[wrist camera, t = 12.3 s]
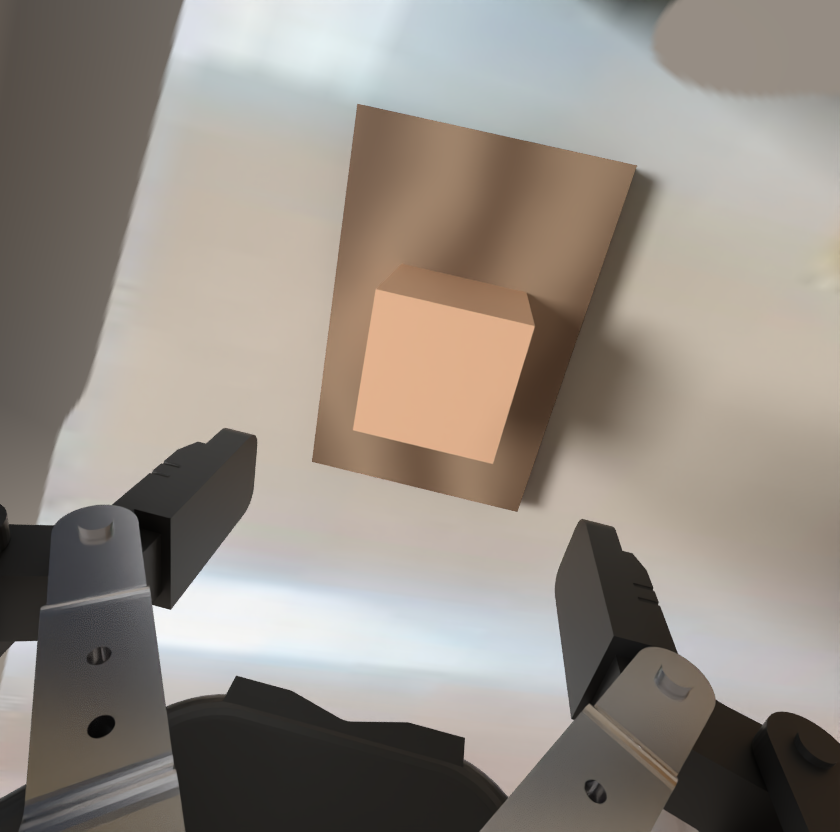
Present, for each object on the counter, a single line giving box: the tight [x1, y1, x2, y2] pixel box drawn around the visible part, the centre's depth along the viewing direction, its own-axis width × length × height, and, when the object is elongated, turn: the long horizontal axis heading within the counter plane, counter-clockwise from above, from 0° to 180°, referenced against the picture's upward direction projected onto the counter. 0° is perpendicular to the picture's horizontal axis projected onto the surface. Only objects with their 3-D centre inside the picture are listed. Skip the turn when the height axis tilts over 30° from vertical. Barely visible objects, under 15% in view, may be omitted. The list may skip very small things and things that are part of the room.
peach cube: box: [353, 264, 535, 464], centre depth 23 cm, size 6×6×6 cm
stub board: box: [312, 104, 637, 512], centre depth 25 cm, size 12×18×5 cm, turn 169°
